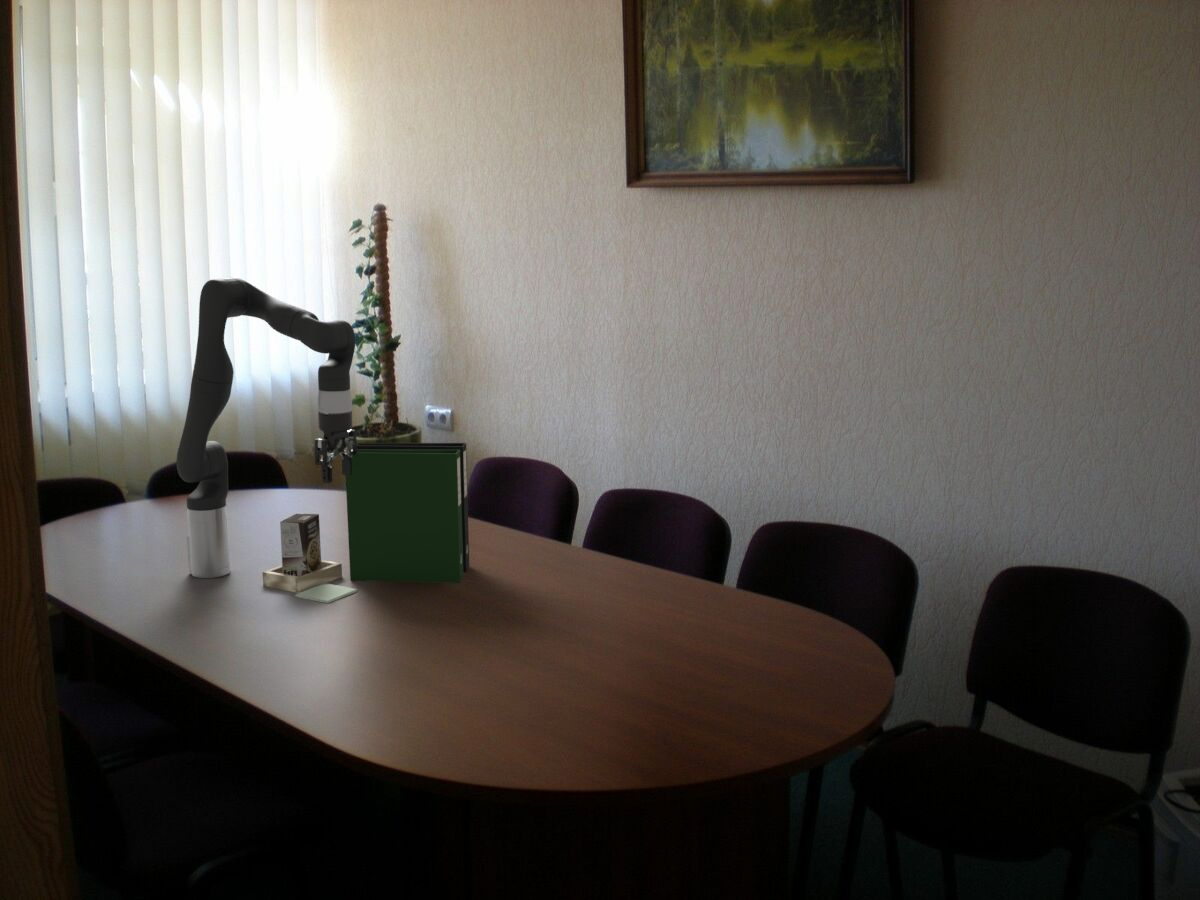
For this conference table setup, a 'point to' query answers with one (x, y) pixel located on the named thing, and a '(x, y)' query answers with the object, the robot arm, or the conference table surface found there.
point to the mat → (326, 593)
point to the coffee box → (300, 544)
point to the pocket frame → (302, 577)
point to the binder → (408, 512)
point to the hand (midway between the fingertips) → (337, 478)
